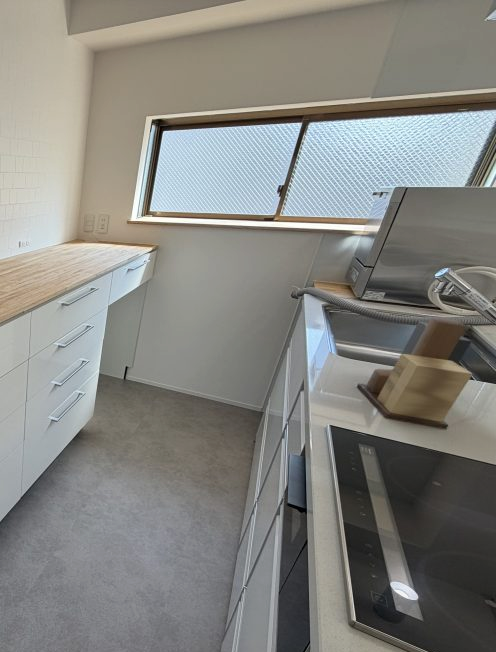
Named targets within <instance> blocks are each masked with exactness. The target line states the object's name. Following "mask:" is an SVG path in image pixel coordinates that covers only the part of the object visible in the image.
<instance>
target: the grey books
mask: <svg viewBox="0 0 496 652" xmlns="http://www.w3.org/2000/svg"><path fill="white" fill-rule="evenodd" d="M427 324H428V321H418V322H417V324H416V326H415V328H414V330H413V332H412V334H411V335H410V337H409V339H408V341H407V343H406V344H405V346H404V348H403V350H402V352H401V354H408V355H411V353H412V351H413V350H414V348H415V346H416V344H417V342H418V341H419V339H420V337H421V335H422V333H423V331H424V330H425V328H426V326H427ZM472 342H473V341H472V340H471V339H469V338H466V337H464V336H463V335H462V336H461V338H460V339H459V341H458V343H457V344H456V346H455V348H454V349H453V351H452V352H451V354H450V356H449V357H448V359H447V360H450V361H453V362H455V363H456V364H458V365H459V363H460V362H461V360H462V358H463V357H464V355H465V353H466V352H467V350H468V348H469V347H470V346H471V343H472Z"/></svg>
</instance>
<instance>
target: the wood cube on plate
mask: <svg viewBox="0 0 496 652" xmlns="http://www.w3.org/2000/svg"><path fill="white" fill-rule="evenodd" d="M392 369H393V370H392ZM392 369H391V370H392V372H391V374H390V376H389V378H388V379H387V381H386V383H385V385H384V387H383V389H382V391H381V392H380V394H378V393H373V392H371V391H370V389H369V388H368V386H367V384H365V383H360V382H359V383H358V384H357V385H356V388H357V389H358V390H359V391H360V392H361V393H362V394H363V395H364V397H366V398H367V400H368V401H369V402H370V403H371V404H372V405H373V407H375V408H376V409H377V411H378V412H379V413H380V414H381V415H382V416H383V417H384V418H385V419H389V420H395V421H399V422H400V421H401V422H407V423H411V424H417V425H422V426H428V427H432V428H433V427H434V428H438V429H443V430H447V429H448V427H449V423H447V422H446V421H445V418H446V416H447V415H448V413H449V412H450V411H451V409H452V407H453V406H454V404H455V402H456V401H457V400H458V398H459V396H460V395H461V392H463V390H464V389H465V387H466V385H467V383H468V382H469V381H470V379H471V378H472V376H473V373H472V372H471V371H469V370H467V369H466V368H465V367H463V366H461V365H459V363H458V364H456V363H455V362H453V361H450V360H443V359H436V358H429V357H422V356H415V355H408V354H402V353H401V354H400V355H399V357H398V359H397V361H396V363H395V365H394V367H393V368H392Z"/></svg>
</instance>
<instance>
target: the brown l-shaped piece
mask: <svg viewBox="0 0 496 652" xmlns="http://www.w3.org/2000/svg"><path fill="white" fill-rule="evenodd" d="M427 323H428V324H427V326H426V328H425V330H424V331H423V333H422V335H421V337H420V339H419V341H418V342H417V344H416V346H415V348H414V350H413V351H412V353H411V355H415V356H422V357H429V358H436V359H443V360H447V359H448V357H449V356H450V354H451V352H452V351H453V349H454V348H455V346H456V344H457V343H458V341H459V339H460V338H461V336H463V335H464V333H465V331H466V329H467V328H468V327H467V326H468V325H466V324H465V323H463V322H461V321H460V320H457V319H450V318H444V317H443V318H442V317H438V316H437V317H436V316H431V317H430V319H429V321H427ZM392 370H393V368H392V369H387V368H386V369H385V368H375V369H374V370H373V372H372V374H371V376H370V377H369V380H368V382H367V384H366V385H367V386H368V388H369V389H370V391H371V392H373V393H378V394H380V392H381V391H382V389H383V387H384V385H385V383H386V381H387V379H388V378H389V376H390V374H391V372H392Z"/></svg>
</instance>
